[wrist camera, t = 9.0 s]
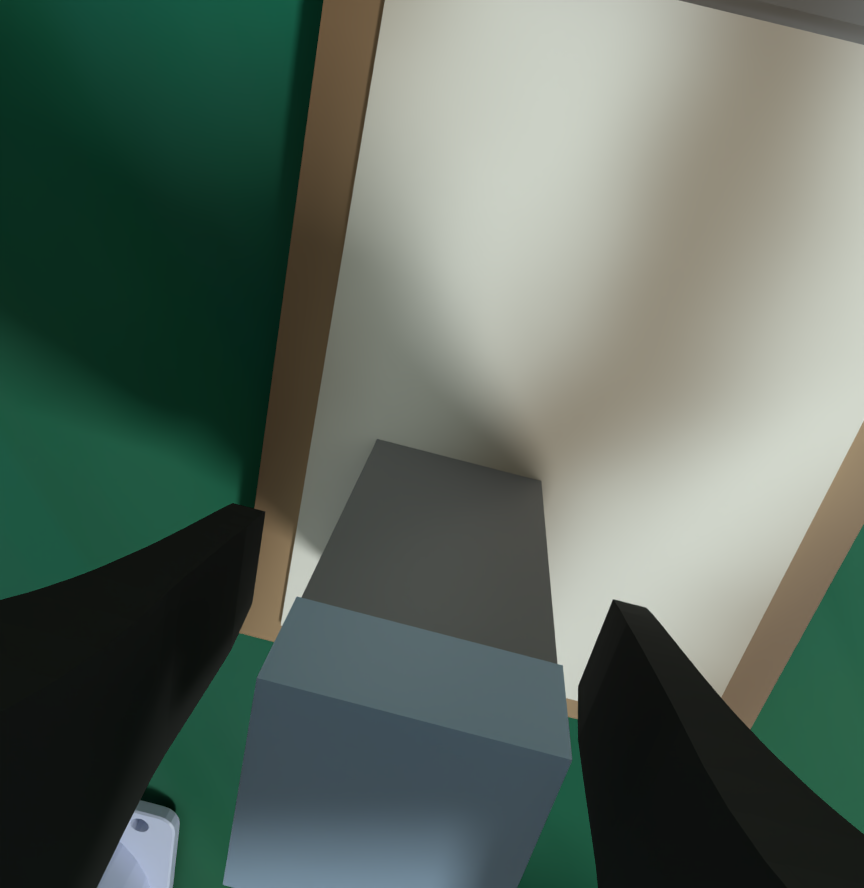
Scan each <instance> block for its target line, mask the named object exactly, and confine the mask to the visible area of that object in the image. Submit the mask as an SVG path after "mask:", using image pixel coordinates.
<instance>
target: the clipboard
mask: <svg viewBox="0 0 864 888" xmlns="http://www.w3.org/2000/svg"><path fill="white" fill-rule="evenodd" d="M377 439H380V440H384V441H388V442H392V443H395V444H399V445H403V446H407V447H411V448H415V449H419V450H423V451H427V452H430V453H434V454H438V455H442V456H446V457H450V458H454V459H458V460H462V461H466V462H469V463H473V464H477V465H481V466H485V467H489V468H493V469H497V470H501V471H504V472H508V473H512V474H516V475H520V476H524V477H528V478H532V479H536V480H540V481H541V482H542V494H543V505H544V516H545V528H546V539H547V550H548V562H549V573H550V584H551V596H552V607H553V618H554V630H555V641H556V652H557V664H559V665H563V672H564V683H565V693H566V703H567V713H568V717H572V718H576V719H578V685H579V682H580V680H581V678H582V675H583V673H584V670H585V668H586V665H587V663H588V660H589V658H590V655H591V653H592V650H593V648H594V645H595V643H596V640H597V638H598V635H599V633H600V630H601V628H602V625H603V623H604V620H605V618H606V615H607V613H608V610H609V608H610V605H611V603H612V600H613V599H614V600H618V601H622V602H626V603H630V604H634V605H638V606H642V607H646V608H647V609H648V610H649V611H650V612H651V613H652V614H653V615H654V616H655V617H656V619H657V620H658V621H659V622H660V623H661V625H662V626H663V627H664V628H665V630H666V631H667V632H668V633H669V635H670V636H671V637H672V638H673V640H674V641H675V642H676V643H677V645H678V646H679V647H680V648H681V650H682V651H683V652H684V653H685V655H686V656H687V657H688V658H689V660H690V661H691V662H692V663H693V664H694V666H695V667H696V668H697V669H698V671H699V672H700V673H701V674H702V675H703V677H704V678H705V679H706V680H707V681H708V683H709V684H710V685H711V686H712V687H713V689H714V690H715V691H716V692H717V693H718V694H719V696H720V697H721V698H722V699H723V700H724V701H725V703H726V704H727V705H728V706H729V707H730V708H731V709H732V711H733V712H734V713H735V714H736V715H737V716H738V717H739V718H740V719H741V720H742V721H743V722H744V724H745V725H746V726H747V727H748V728H749V729H751V727H752V725H753V723H754V722H755V720H756V718H757V716H758V714H759V712H760V711H761V709H762V707H763V705H764V703H765V702H766V700H767V698H768V696H769V694H770V693H771V691H772V689H773V687H774V685H775V683H776V682H777V680H778V678H779V676H780V674H781V673H782V671H783V669H784V667H785V665H786V663H787V662H788V660H789V658H790V656H791V654H792V653H793V651H794V649H795V647H796V645H797V644H798V642H799V640H800V638H801V636H802V634H803V633H804V631H805V629H806V627H807V625H808V624H809V622H810V620H811V618H812V616H813V615H814V613H815V611H816V609H817V607H818V605H819V604H820V602H821V600H822V598H823V596H824V595H825V593H826V591H827V589H828V587H829V585H830V584H831V582H832V580H833V578H834V576H835V575H836V573H837V571H838V569H839V567H840V566H841V564H842V562H843V560H844V558H845V556H846V555H847V553H848V551H849V549H850V547H851V546H852V544H853V542H854V540H855V538H856V537H857V535H858V533H859V531H860V529H861V527H862V526H863V524H864V0H323V8H322V15H321V22H320V30H319V37H318V45H317V52H316V59H315V67H314V74H313V81H312V89H311V96H310V103H309V111H308V118H307V125H306V133H305V140H304V147H303V155H302V162H301V169H300V177H299V184H298V192H297V199H296V206H295V214H294V221H293V228H292V236H291V243H290V250H289V258H288V265H287V272H286V280H285V287H284V294H283V302H282V309H281V316H280V324H279V331H278V339H277V346H276V353H275V361H274V368H273V375H272V383H271V390H270V397H269V405H268V412H267V419H266V427H265V434H264V441H263V449H262V456H261V463H260V471H259V478H258V486H257V493H256V500H255V508H254V509H258V510H262V511H266V512H265V519H264V526H263V533H262V540H261V547H260V554H259V561H258V568H257V575H256V582H255V589H254V596H253V602H252V606H251V608H250V610H249V612H248V614H247V617H246V619H245V621H244V623H243V625H242V628H241V630H240V632H239V633H241V634H245V635H249V636H253V637H257V638H261V639H265V640H269V641H273V642H275V640H276V638H277V636H278V634H279V631H280V629H281V627H282V625H283V623H284V621H285V619H286V617H287V615H288V613H289V611H290V609H291V607H292V605H293V603H294V601H295V599H296V597H302V595H303V593H304V591H305V589H306V587H307V585H308V582H309V580H310V578H311V576H312V574H313V572H314V570H315V568H316V566H317V564H318V562H319V559H320V557H321V555H322V553H323V551H324V549H325V547H326V545H327V543H328V541H329V539H330V536H331V534H332V532H333V530H334V528H335V526H336V524H337V522H338V520H339V518H340V516H341V513H342V511H343V509H344V507H345V505H346V503H347V501H348V499H349V497H350V495H351V492H352V490H353V488H354V486H355V484H356V482H357V480H358V478H359V476H360V474H361V472H362V469H363V467H364V465H365V463H366V461H367V459H368V457H369V455H370V453H371V451H372V449H373V446H374V444H375V442H376V440H377Z"/></svg>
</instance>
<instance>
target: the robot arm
mask: <svg viewBox="0 0 864 888" xmlns="http://www.w3.org/2000/svg"><path fill="white" fill-rule="evenodd" d="M265 512H266V511H262V510H258V509H254V508H250V507H246V506H242V505H238V504H234V503H232V504H230V505H228V506H226V507H224V508H222V509H220V510H218V511H216V512H214V513H212V514H210V515H209V516H207V517H205V518H203V519H201V520H199V521H197V522H195V523H193V524H191V525H190V526H188V527H186V528H184V529H182V530H180V531H178V532H176V533H174V534H172V535H170V536H168V537H166V538H164V539H162V540H160V541H158V542H156V543H154V544H152V545H150V546H148V547H145V548H143V549H141V550H139V551H136V552H134V553H132V554H130V555H127V556H125V557H123V558H120V559H118V560H116V561H114V562H111V563H109V564H107V565H105V566H102V567H100V568H97V569H95V570H92V571H90V572H87V573H85V574H82V575H79V576H77V577H74V578H71V579H68V580H65V581H62V582H59V583H56V584H53V585H50V586H47V587H44V588H41V589H38V590H35V591H32V592H29V593H25V594H21V595H17V596H14V597H10V598H6V599H2V600H0V888H173V880H174V871H175V862H176V853H177V844H178V835H179V825H180V822H179V817H178V816H177V814H176V813H175V812H174V811H173V810H171V809H170V808H167V807H165V806H161V805H157V804H154V803H150V802H146V801H142V800H141V798H142V796H143V794H144V792H145V790H146V788H147V786H148V784H149V782H150V780H151V778H152V776H153V774H154V773H155V771H156V769H157V767H158V766H159V764H160V762H161V761H162V759H163V757H164V755H165V754H166V752H167V751H168V749H169V747H170V746H171V744H172V743H173V741H174V740H175V738H176V736H177V735H178V733H179V732H180V730H181V729H182V727H183V725H184V724H185V722H186V721H187V719H188V718H189V716H190V714H191V713H192V711H193V710H194V708H195V707H196V705H197V703H198V702H199V700H200V699H201V697H202V696H203V694H204V692H205V691H206V689H207V688H208V686H209V684H210V683H211V681H212V680H213V678H214V677H215V675H216V673H217V672H218V670H219V669H220V667H221V665H222V664H223V662H224V661H225V659H226V657H227V656H228V654H229V652H230V651H231V649H232V647H233V644H234V642H235V640H236V638H237V636H238V634H239V632H240V630H241V628H242V625H243V623H244V621H245V619H246V617H247V614H248V612H249V610H250V608H251V606H252V602H253V596H254V589H255V582H256V575H257V568H258V561H259V554H260V547H261V540H262V533H263V526H264V519H265ZM578 742H579V750H580V757H581V765H582V772H583V779H584V786H585V793H586V800H587V807H588V814H589V821H590V828H591V835H592V842H593V849H594V856H595V863H596V872H597V882H598V888H864V834H863V833H861V832H860V831H859V830H858V829H857V828H855V827H854V826H853V825H852V824H850V823H849V822H848V821H847V820H846V819H844V818H843V817H842V816H841V815H840V814H838V813H837V812H836V811H835V810H834V809H832V808H831V807H830V806H829V805H828V804H827V803H826V802H824V801H823V800H822V799H821V798H820V797H819V796H818V795H816V794H815V793H814V792H813V791H812V790H811V789H810V788H809V787H808V786H807V785H806V784H804V783H803V782H802V781H801V780H800V779H799V778H798V777H797V776H796V775H795V774H794V773H793V772H792V771H791V770H790V769H789V768H788V767H786V766H785V765H784V764H783V763H782V762H781V761H780V760H779V759H778V758H777V757H776V756H775V755H774V754H773V753H772V752H771V751H770V750H769V749H768V748H767V747H766V746H765V745H764V744H763V743H762V742H761V741H760V740H759V739H758V738H757V737H756V735H755V734H754V733H753V732H752V731H751V730H750V729H749V728H748V727H747V726H746V725H745V724H744V722H743V721H742V720H741V719H740V718H739V717H738V716H737V715H736V714H735V713H734V712H733V711H732V709H731V708H730V707H729V706H728V705H727V704H726V703H725V701H724V700H723V699H722V698H721V697H720V696H719V694H718V693H717V692H716V691H715V690H714V689H713V687H712V686H711V685H710V684H709V683H708V681H707V680H706V679H705V678H704V677H703V675H702V674H701V673H700V672H699V671H698V669H697V668H696V667H695V666H694V664H693V663H692V662H691V661H690V660H689V658H688V657H687V656H686V655H685V653H684V652H683V651H682V650H681V648H680V647H679V646H678V645H677V643H676V642H675V641H674V640H673V638H672V637H671V636H670V635H669V633H668V632H667V631H666V630H665V628H664V627H663V626H662V625H661V623H660V622H659V621H658V620H657V619H656V617H655V616H654V615H653V614H652V613H651V612H650V611H649V610H648V609H647V608H646V607H642V606H638V605H634V604H630V603H626V602H622V601H618V600H614V599H613V600H612V603H611V605H610V608H609V610H608V613H607V615H606V618H605V620H604V623H603V625H602V628H601V630H600V633H599V635H598V638H597V640H596V643H595V645H594V648H593V650H592V653H591V655H590V658H589V660H588V663H587V665H586V668H585V670H584V673H583V675H582V678H581V680H580V682H579V685H578Z"/></svg>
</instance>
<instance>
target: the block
mask: <svg viewBox="0 0 864 888" xmlns="http://www.w3.org/2000/svg"><path fill="white" fill-rule="evenodd" d="M571 761H572V754H571V743H570V733H569V723H568V713H567V703H566V693H565V683H564V672H563V665H559V664H557V652H556V641H555V630H554V618H553V607H552V596H551V584H550V573H549V562H548V550H547V539H546V528H545V516H544V505H543V494H542V482H541V481H540V480H536V479H532V478H528V477H524V476H520V475H516V474H512V473H508V472H504V471H501V470H497V469H493V468H489V467H485V466H481V465H477V464H473V463H469V462H466V461H462V460H458V459H454V458H450V457H446V456H442V455H438V454H434V453H430V452H427V451H423V450H419V449H415V448H411V447H407V446H403V445H399V444H395V443H392V442H388V441H384V440H380V439H377V440H376V442H375V444H374V446H373V449H372V451H371V453H370V455H369V457H368V459H367V461H366V463H365V465H364V467H363V469H362V472H361V474H360V476H359V478H358V480H357V482H356V484H355V486H354V488H353V490H352V492H351V495H350V497H349V499H348V501H347V503H346V505H345V507H344V509H343V511H342V513H341V516H340V518H339V520H338V522H337V524H336V526H335V528H334V530H333V532H332V534H331V536H330V539H329V541H328V543H327V545H326V547H325V549H324V551H323V553H322V555H321V557H320V559H319V562H318V564H317V566H316V568H315V570H314V572H313V574H312V576H311V578H310V580H309V582H308V585H307V587H306V589H305V591H304V593H303V595H302V597H296V599H295V601H294V603H293V605H292V607H291V609H290V611H289V613H288V615H287V617H286V619H285V621H284V623H283V625H282V627H281V629H280V631H279V634H278V636H277V638H276V640H275V642H274V644H273V646H272V648H271V650H270V652H269V654H268V656H267V658H266V660H265V662H264V664H263V666H262V668H261V670H260V672H259V674H258V676H257V680H256V686H255V692H254V698H253V704H252V710H251V716H250V722H249V728H248V734H247V741H246V747H245V753H244V759H243V765H242V771H241V777H240V783H239V789H238V795H237V801H236V808H235V814H234V820H233V826H232V832H231V838H230V844H229V850H228V856H227V862H226V869H225V875H224V881H223V885H226V886H230V887H233V888H517V887H518V884H519V882H520V880H521V878H522V875H523V873H524V871H525V868H526V866H527V864H528V861H529V859H530V857H531V854H532V852H533V850H534V847H535V845H536V843H537V840H538V838H539V836H540V833H541V831H542V829H543V826H544V824H545V822H546V819H547V817H548V815H549V813H550V810H551V808H552V806H553V803H554V801H555V799H556V796H557V794H558V792H559V789H560V787H561V785H562V782H563V780H564V778H565V775H566V773H567V771H568V768H569V766H570V764H571Z"/></svg>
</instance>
